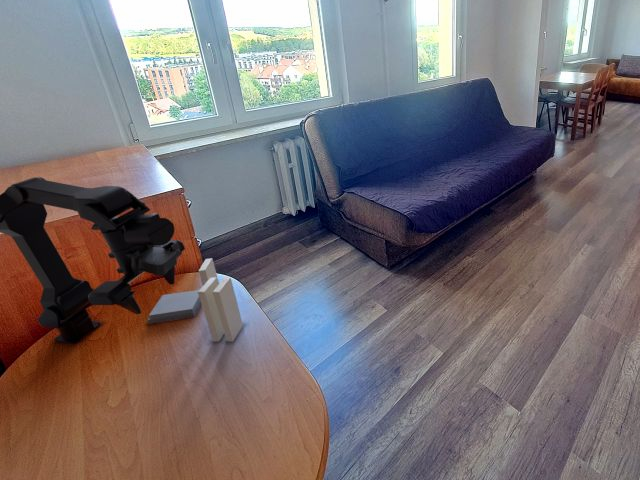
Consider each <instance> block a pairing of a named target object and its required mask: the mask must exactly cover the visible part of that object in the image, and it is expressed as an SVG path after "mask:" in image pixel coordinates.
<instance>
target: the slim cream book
mask: <svg viewBox="0 0 640 480" xmlns="http://www.w3.org/2000/svg"><path fill="white" fill-rule="evenodd" d="M198 273H199V277H200V281H201V285H202V286H203V285H204V284H205V283H206V282H207V281H208V280H209V279H210V278H211V277H212V278H217V280H218V284H220V281H219V278H218V273H217V270H216V266H215V263H214V259H213V258H212V257H209V258H205V259H204V261H203V263H202V264H201V266H200V268H199V269H198Z"/></svg>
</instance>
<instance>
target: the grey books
mask: <svg viewBox="0 0 640 480" xmlns="http://www.w3.org/2000/svg"><path fill="white" fill-rule="evenodd" d="M199 290H200V289H197V290H189V291H182V292H174V293H168V294H162V295H161V296H160V298H159V300H158V301H157V302H156V304H155V306H154V307H153V309H152V310H151V311H150V313H149V314H148V319H147V323H148V325H150V324H159V323H163V322H171V321H176V320H177V321H178V320H182V319H189V318H195V316H196V315H197V313H198V311H199V309H200V307H201V306H202V304H201V301H200V298H199V294H198V291H199Z"/></svg>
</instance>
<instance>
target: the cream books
mask: <svg viewBox="0 0 640 480" xmlns="http://www.w3.org/2000/svg"><path fill="white" fill-rule="evenodd" d="M218 281H219V279H218V280H217V278H212V277H211V278H210V279H209V280H208V281H207V282H206V283H205V284H204V285H202V287H200V289H198V290H199V291H198V294H199V298H200V301H201V308H202V311H203V313H204V317H205V320H206V323H207V326H208V327H207V328H208V330H209V334H210V337H211V340H212V342H220V341H221V339H222V338H223V336H224V338H225V340H226V342H234V340H235V339H236V337H238V334H239V332H240V331H241V329H242V328H243V327H244V326H243V325H244V324H243V320H242V316H241V312H240V308H239V304H238V301H237V297H236V293H235V289H234V285H233V282H232V278H231V277H223V279H222V280H221V281H219V284H218Z"/></svg>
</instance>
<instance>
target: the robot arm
mask: <svg viewBox="0 0 640 480" xmlns="http://www.w3.org/2000/svg"><path fill="white" fill-rule="evenodd" d="M46 206H50V207H56V208H60V209H64V210H70V211H74V212H77V214H78V216H79V218H81V219H83V220H86V221H89V222H91V223H93V224H92V226H91V227H90V229H91V230H92V231H99V232H100V233H101V235H102V237H103V239H104V240H105V242H106V245H107V246H108V248H109V249H110V252H109V253H107V256H108V257H109V259H115V260H116V263H117V264H118V266H119V267H118V268H116V272H117V273H118V274H123V276H122V277H120V278H119V279H117V280H105V281H103V283H101V284H100V285H98V286H97V287H95V288H93V287H92V286H91V283H90V281H88V280H82V279H79V278H76V277H73V275H72V274H71V272H70V270H69V268H68V267H67V265H66V263H65V261H64V260H63V258H62V256H61V254H60V253H59V251H58V249H57V248H56V246H55V244H54V243H53V241H52V239H51V237H50V235H49V234H48V232H47V230H46V229H45V224H46V220H47V217H48V211H47V209H46ZM129 210H130V211H129ZM150 211H151V208H149V207H148V206H147V205H146V203H145V202H144V201H142V200H141V199H140V198H137V196H136V195H134V194H133V193H132V192H130V191H129V190H127V188H124V187H122V186H120V185H119V186H116V185H103V186H97V187H84V186H79V185H73V184H68V183H62V182H57V181H52V180H48V179H45V178H44V177H41V176H38V177H35V176H34V177H31V178H27V179H24V180H21V181H19V182H15V183H13V184H11V185H10V186H8V187H6V189H5V190H4V191H3V192H2V193H1V194H0V233H1V234H3V235H7V236H9V237H11V239H12V240H13V241H14V243H15V245H16V246H17V248H18V250H19V251H20V252H21V254H22V256H23V257H24V259H25V260H26V262H27V264H28V265H29V267H30V268H31V270H32V272H33V273H34V274H35V277H36V278H37V279H38V280H37V281H39V283H40V284H41V286H42V289H43V290H42V292H41V297H40V300H39V302H40V305H41V308H42V309H43V310H42V312H41V314H40V315H39V316H38V318H37V320H36V321H37V322H38V324H39V325H41V327H43V328H50V329H56V330H58V332H59V335H57V336H55V337H54V338H53V341H55V342H58V343H62V344H63V343H65V344H70V345H76V344H78V343H79V342H81V340H83V339H84V338H85V337H87V336H88V335H89V334H91V333H92V332H93V331H95V330H96V329H97V328H98V327H100V326H102V322H101V321H95V320H92V318H91V316H90V314H89V312H88V310H87V308H89V307H90V306H114V305H116V306H119V307H121V308H123V309H125V310H127V311H129V312H131V313H133V314H135V315H141V314H142V311H141V308H140V306H139V304H138V302H137V301H136V299H135V297H134V296H135V293H136V291H134V290H133V291H132V286H131V283H132V282H133V281H135V280H136V279H138V277H140V276H141V275H143V274H144V273H148V274H152V275H154V276H157V277H161V276H162V277H163V278H164V280H165V281H166V282H167V284H168V285H174V284H175V281H176V280H175V275H176V274H175V273H176V272H175V271H176V266H177V265H178V259H179V258H180V257H181V256H182V255H183V253H182V252H184V250H186V246H185V245H184V242H183V241H181V240H179V239H172V238H173V236H174V234H175V225H174V222H173V221H171V220H170V219H168V218H166V217H160V214H159V213H157V212H153V213H148V212H150Z"/></svg>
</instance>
